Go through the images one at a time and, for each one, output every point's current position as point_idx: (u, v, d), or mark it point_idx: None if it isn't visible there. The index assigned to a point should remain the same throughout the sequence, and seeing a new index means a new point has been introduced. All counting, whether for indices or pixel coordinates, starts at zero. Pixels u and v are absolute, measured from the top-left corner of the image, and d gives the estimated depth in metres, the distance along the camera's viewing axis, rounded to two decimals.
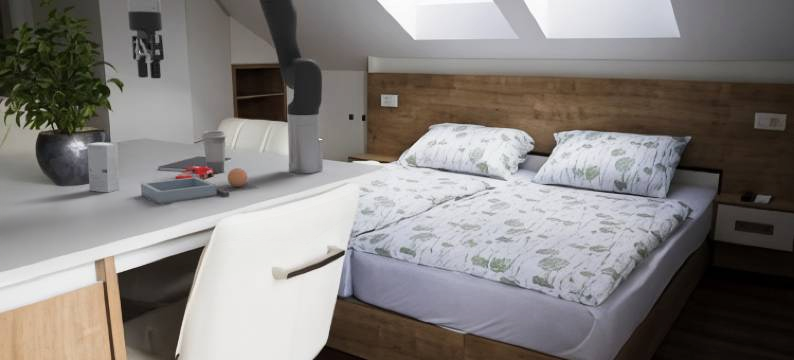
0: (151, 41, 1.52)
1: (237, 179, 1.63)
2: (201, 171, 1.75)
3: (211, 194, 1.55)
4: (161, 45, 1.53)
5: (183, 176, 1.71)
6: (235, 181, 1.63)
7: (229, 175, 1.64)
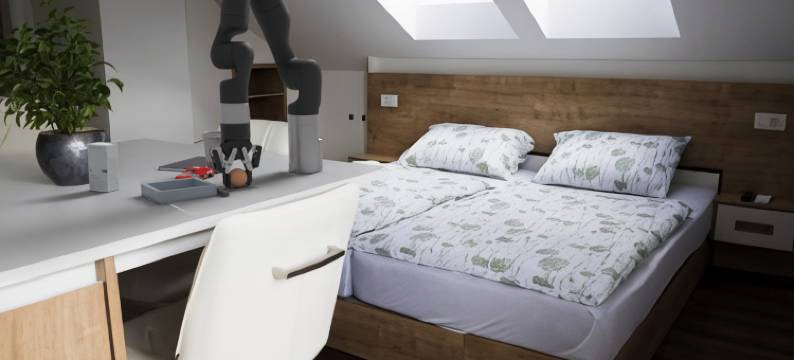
0: (259, 151, 1.67)
1: (237, 179, 1.63)
2: (201, 171, 1.75)
3: (211, 194, 1.55)
4: None
5: (182, 176, 1.71)
6: (235, 181, 1.63)
7: None
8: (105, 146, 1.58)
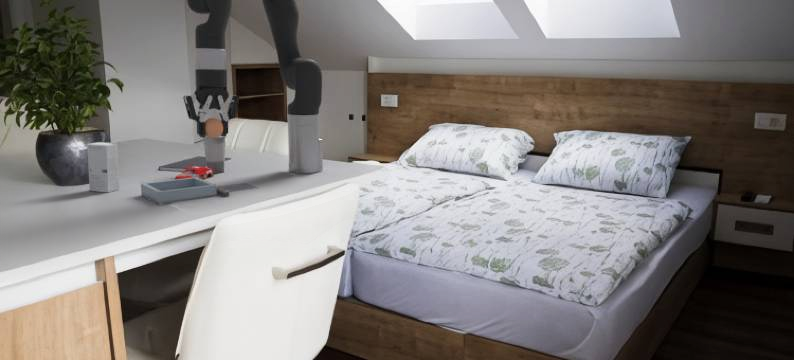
0: (236, 101, 1.61)
1: (212, 129, 1.57)
2: (201, 171, 1.75)
3: (211, 194, 1.55)
4: None
5: (183, 176, 1.71)
6: (210, 130, 1.57)
7: None
8: (105, 146, 1.58)
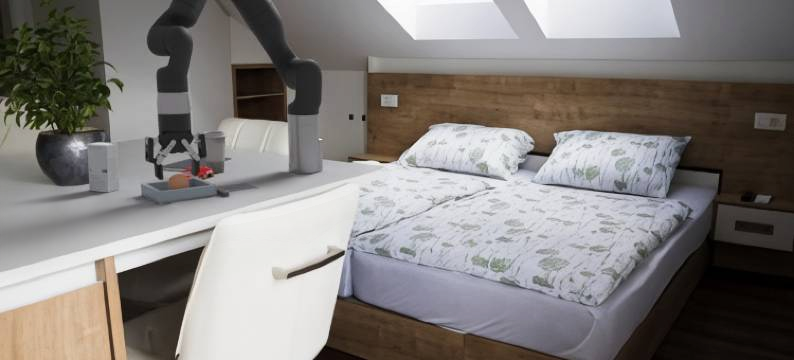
0: (202, 140, 1.57)
1: (177, 186, 1.54)
2: (200, 171, 1.75)
3: (211, 194, 1.55)
4: None
5: None
6: (175, 187, 1.54)
7: (169, 181, 1.54)
8: (105, 146, 1.58)
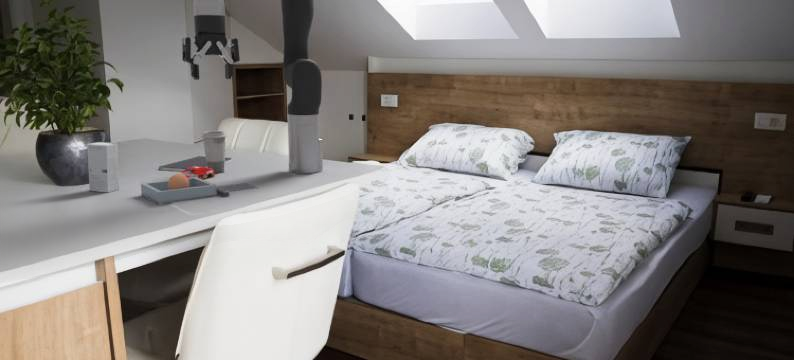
0: (236, 44, 1.65)
1: (177, 186, 1.54)
2: (200, 171, 1.75)
3: (211, 194, 1.55)
4: None
5: None
6: (175, 187, 1.54)
7: (169, 181, 1.54)
8: (105, 146, 1.58)
